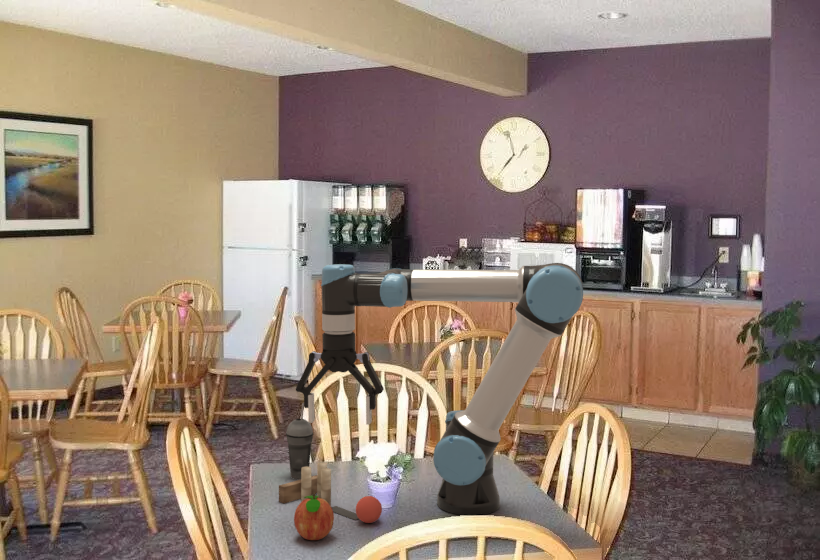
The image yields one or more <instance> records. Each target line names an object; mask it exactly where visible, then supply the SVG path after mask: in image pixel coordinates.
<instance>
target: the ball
mask: <svg viewBox="0 0 820 560" xmlns="http://www.w3.org/2000/svg"><path fill="white" fill-rule="evenodd" d="M382 512H383V507H382V503H381V502H380V500H379V499H378V498H377V497H375V496H373V495H372V496H371V495H365V496H363V497H362V498H360V499H359V500H358V501H357V503H356V506H355V513H356V514H357V517H358V518H359V519H358V520H360V521H361V522H363V523H366V524H372V523H374V522H376V521H378V520H379V518H380V517H381V515H382Z"/></svg>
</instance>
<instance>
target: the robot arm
mask: <svg viewBox="0 0 820 560" xmlns="http://www.w3.org/2000/svg"><path fill="white" fill-rule="evenodd" d="M583 285H584V284H583V280H582V278H581V275H580V274H579V272H578V271H576V270H575V268H573V267H572V266H570V265H569V264H565V263H563V262H554V263H553V262H552V263H546V264H537V265H522V266H521V267H520V268H519V269H402V268H400V267H399V268H398V267H396V268H394V267H393V268H389V269H386V270H384V271H382V272H380V273H379V272H378V273H358V272H357V273H356V271H355V267H354V265H353V264H345V263H343V264H341V263H339V264H336V263H335V264H327V265H324V266H323V267H322V269H321V284H320V286H321V287H320V288H321V308H322V309H321V317H322V318H321V330H322V331H323V333H322V352H317V351H315V350H312V351H311V352H309V354H308V361H307V364H306V367H305V368H304V371H303V372H302V375H301V377H300V378H299V381H298V383H297V386H296V388H295V391H296V392H297V393H302V395H303V403H304V409H308V410H307V411H308V413H307V414H308V422H309V423H310V424H312V423H314V422H315V420H316V417H315V415H316V414H315V413H316V412H315V392H312V391H313V390H314V388H315V387H316V386H317V385H318V384H319V382H320V381H321V380H322V379H323V377H324V376H325V375H326V374H327V373H328V372H329V371H330V372H331V373H338V372H339V373H346V372H349V373H350V374H351V375H352V376H353V377H354V378H355V380H356V381H357V382H358V383H359V385H360V386H361V387H362V388H363V389H364V390H365V392H366V393H367V395H366V396H365V414H366V415H365V417H366V421H365V423H366V424H365V425H367V426H368V425H371V423H372V421H373V419H372V417H373V416H372V411H373V410H375V409H376V406H377V395H379V394H382V392H383V391H384V390H385V388H384V386H383V384H382V383H381V382H382V381H381V379H379V376H378V374H377V373H376V370H375V368H374V366H373V364H372V362H371V358H370V353H369V352H368V351H365V352H364V353H357V350H356V333H355V332H354V330H356V314H355V313H356V310H355V308H356V307H380V308H385V307H386V308H389V309H391V308H396V307H397V308H398V307H403V306H404V305H405V304H406V303H407V302H411V301H412V302H413V301H414V302H415V301H417V302H418V301H419V302H421V301H423V302H424V301H425V302H474V303H475V302H476V303H477V302H478V303H479V302H480V303H481V302H482V303H483V302H484V303H517V304H516V307H515V308H514V312H515V316H516V320H515V323H514V324H513V326H512V327H511V329H510V330H509V333H508V335H507V336H506V338H505V340H504V341H503V343H502V345H501V347H500V349H499V350H498V353H497V354H496V355H495V357H494V359H493V361H492V362H491V364H490V366H489V368H488V370H487V371H486V373H485V375H484V376H483V378H482V380H481V382H480V383H479V386H478V387H477V389H476V391H475V392H474V394H473V396H472V398H471V399H470V401H469V403H468V404H467V406H466V408H465V409H464V410H451V411H449V412H447V413H446V416H445V420H444V423H445V431H444V433H443V434H442V437H441V438H440V440H439V441H438V442H437V444H435V447H434V450H433V458H432V459H433V465H434V468H435V470H436V473H438V475H439V476H440V477H441V478H442V480H441V484H440V487H439V489H438V492H437V499H436V501H437V503H436V504H437V506H438V507H439V509H440V510H442V511H445V512H447V513H450V514H455V515H460V516H465V515H464V514H483V515H488V514H491V513H494V512H495V511H497V510H499V508H500V506H501V504H500V503H501V502H500V501H501V496H500V494H499V490H498V487H497V483H496V481H495V477H494V451H495V450H496V448H497V447H498V445H499V443H500V442H501V435H500V431H499V430H500V428H501V426H502V424H503V423H504V422H505V419H507V416H508V414H509V412H510V411H511V409H512V408H513V405H514V404H515V402H516V401H517V398H518V397H519V395H520V393H521V392H522V390H523V388H524V387H525V385H526V383H527V381H528V380H529V378H530V376H531V374H532V372H533V371H534V370H535V368H536V366H537V364H538V363H539V361H540V359H541V357H542V355H543V354H544V352H545V351H546V349H547V347H548V345H549V343H550V342H551V340H552V339H555V338H559V337H561V336H562V335H563V333H564V331H565V330H566V328H567V326H568V325H569V323H570V321H571V320H572V318H573V317H574V316H575V315H576V314H577V313H578V312H579V309H580V307H581V306H582V303H583V299H584V287H583ZM319 360H321V361H322V362H323V364H324V365H323V367H322V368H321V369H320V370H319V371H318V373H317V374H316V375H315V377H314V378H313V379H312V380H311V381H310V383H309V384H308V385H306V384H307V382H308V380H309V377H310V375H311V373H312V371H313V369H314V366H315V364H316V363H317V362H318V361H319ZM357 360H359V362H360V363H361V364H363V365H362V366H363V367H364V369H365V371H366V373H367V375H368V377H369V379H370V381H371V383H372V384H371V383H370V382H369V380H368V379H367V378H366V377H365V376H364V375H363V373H362V372H361V371H360V370H359V368H358V366H357V365H356V364H355V363H356V362H357Z"/></svg>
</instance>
